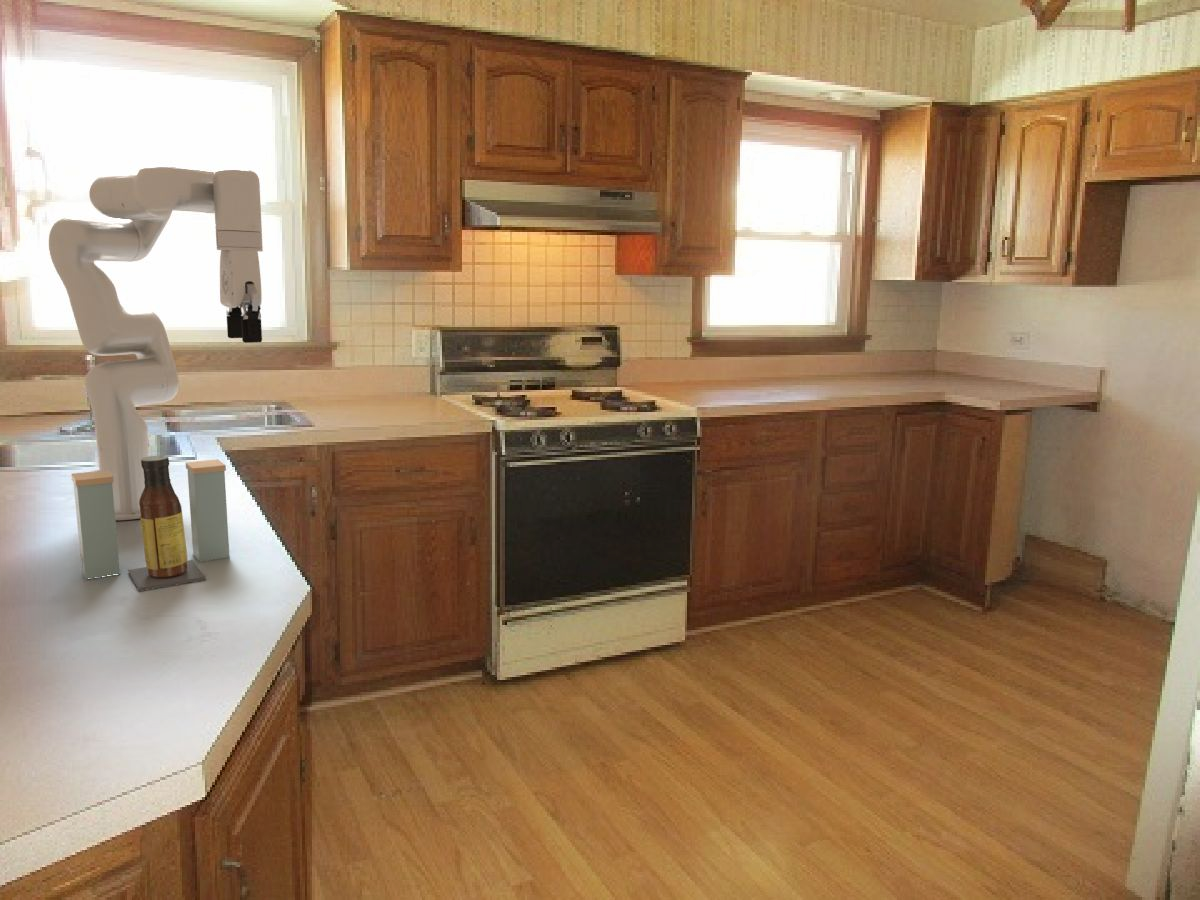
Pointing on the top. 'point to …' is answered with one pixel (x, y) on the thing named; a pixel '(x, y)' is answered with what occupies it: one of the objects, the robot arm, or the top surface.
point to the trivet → (148, 582)
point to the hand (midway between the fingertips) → (244, 340)
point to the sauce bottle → (161, 521)
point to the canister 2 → (208, 509)
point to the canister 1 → (96, 523)
